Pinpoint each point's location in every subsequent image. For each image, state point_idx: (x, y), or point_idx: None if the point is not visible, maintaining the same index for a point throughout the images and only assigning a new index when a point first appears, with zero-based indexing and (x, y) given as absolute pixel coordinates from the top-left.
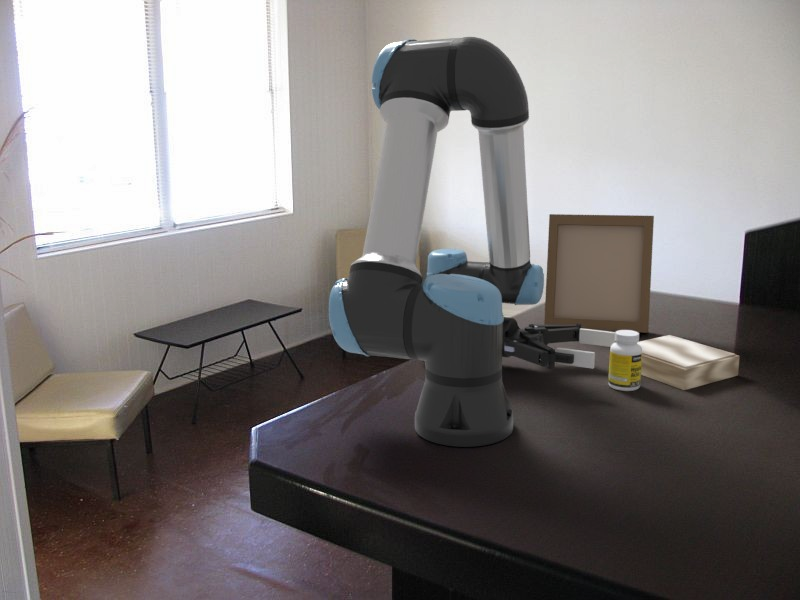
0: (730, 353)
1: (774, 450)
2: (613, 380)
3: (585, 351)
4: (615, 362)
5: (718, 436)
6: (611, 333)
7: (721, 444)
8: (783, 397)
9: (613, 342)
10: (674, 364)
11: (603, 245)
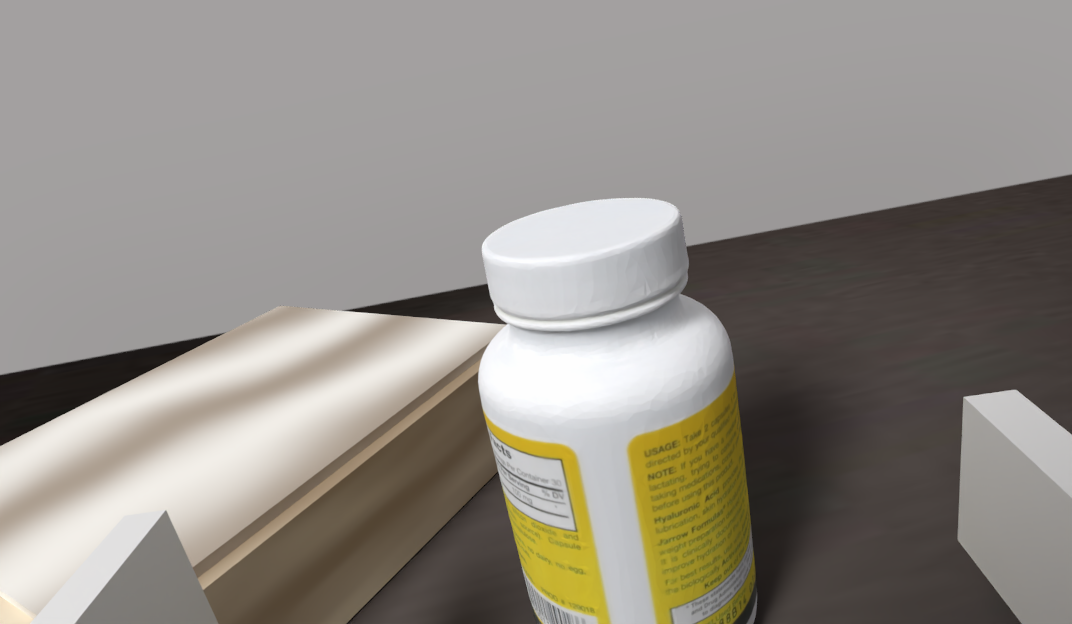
0: (274, 312)
1: (905, 219)
2: (748, 582)
3: (1047, 450)
4: (738, 446)
5: (942, 269)
6: (149, 537)
7: (997, 254)
8: None
9: (198, 596)
10: (473, 361)
11: None
